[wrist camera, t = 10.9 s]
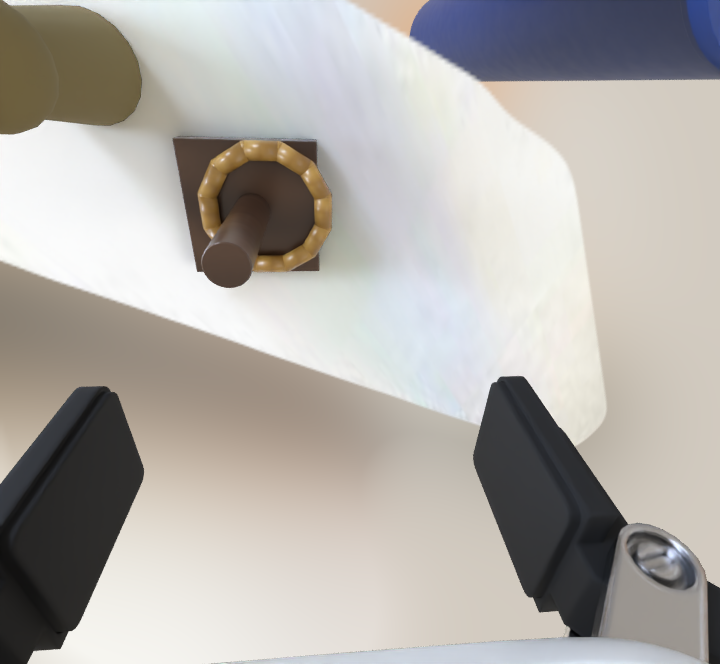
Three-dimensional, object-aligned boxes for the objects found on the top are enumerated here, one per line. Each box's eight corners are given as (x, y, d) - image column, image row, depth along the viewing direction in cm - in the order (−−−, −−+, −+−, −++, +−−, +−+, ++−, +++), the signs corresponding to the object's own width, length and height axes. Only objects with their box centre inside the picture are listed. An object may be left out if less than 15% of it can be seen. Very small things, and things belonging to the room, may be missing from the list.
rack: (177, 136, 27) (101, 165, 17) (316, 139, 28) (317, 169, 18) (200, 265, 31) (151, 345, 22) (319, 265, 32) (321, 341, 23)
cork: (153, 45, 24) (51, 21, 15) (128, 144, 27) (28, 178, 17) (37, -21, 22) (-165, -97, 13) (22, 93, 25) (-155, 99, 15)
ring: (190, 137, 26) (185, 139, 25) (331, 141, 27) (331, 143, 26) (212, 268, 30) (208, 275, 29) (331, 267, 31) (332, 274, 30)
